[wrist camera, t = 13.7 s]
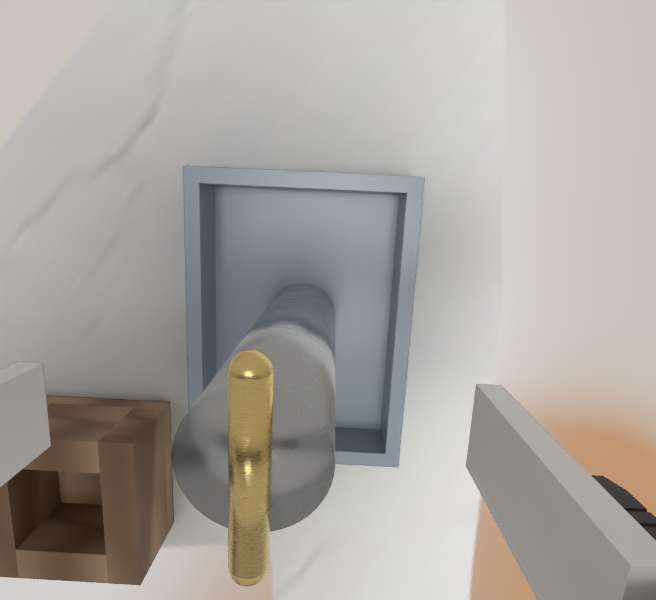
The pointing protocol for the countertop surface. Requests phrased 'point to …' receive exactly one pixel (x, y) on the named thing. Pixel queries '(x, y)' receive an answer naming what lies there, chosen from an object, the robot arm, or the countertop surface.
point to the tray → (309, 281)
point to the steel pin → (265, 429)
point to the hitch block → (91, 494)
